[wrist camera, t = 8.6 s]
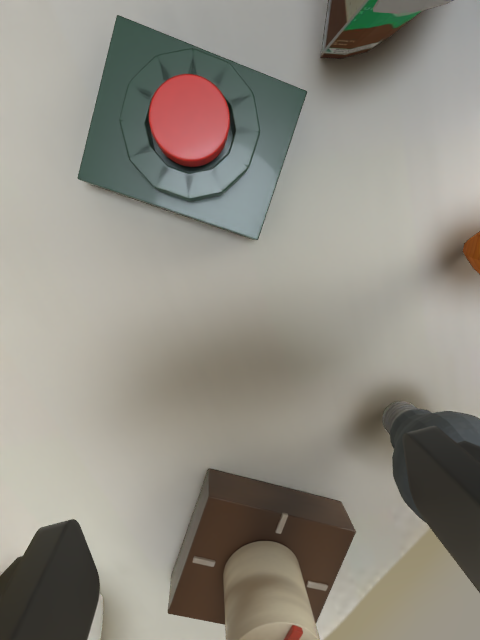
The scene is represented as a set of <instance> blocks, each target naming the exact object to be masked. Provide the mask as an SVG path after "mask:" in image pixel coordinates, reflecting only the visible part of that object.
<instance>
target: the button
mask: <svg viewBox="0 0 480 640" xmlns="http://www.w3.org/2000/svg"><path fill="white" fill-rule="evenodd" d="M149 124H150V129H151V132H152V134H153V137H154V139H155V140H156V142H157V144H158V146H159V147H160V149H161V150H162V152H163V153H164V154H165V155H166V156H167V157H168V158H169V159H170V160H172V161H173V162H175V163H177V164H179V165H182V166H187V167H198V166H202V165H205V164H208V163H209V162H211V161H213V160H214V159H215V158H216V157H217V156H218V155H219V154H220V153H221V151H222V150H223V148H224V146H225V143H226V141H227V137H228V132H229V127H230V113H229V108H228V105H227V102H226V100H225V98H224V96H223V94H222V93H221V91H220V90H219V89H218V88H217V87H216V86H215V85H214V84H213V83H212V82H211V81H209V80H207V79H206V78H204V77H201V76H198V75H194V74H181V75H177V76H174V77H172V78H170V79H168V80H166V81H165V82H164V83H163V84H161V85H160V87H159V88H158V89H157V90H156V92H155V93H154V95H153V97H152V100H151V103H150V107H149Z"/></svg>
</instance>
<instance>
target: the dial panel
mask: <svg viewBox="0 0 480 640" xmlns="http://www.w3.org/2000/svg"><path fill="white" fill-rule="evenodd" d="M355 533H356V531H355V529H354V527H353V525H352V522H351V520H350V518H349V516H348V514H347V512H346V510H345V508H344V506H343V504H342V502H340V501H337V500H333V499H329V498H325V497H321V496H317V495H313V494H309V493H305V492H301V491H297V490H293V489H289V488H285V487H281V486H277V485H273V484H269V483H265V482H261V481H257V480H253V479H249V478H245V477H241V476H237V475H233V474H229V473H225V472H221V471H217V470H212V469H208V472H207V475H206V477H205V480H204V483H203V486H202V489H201V492H200V495H199V498H198V501H197V503H196V506H195V509H194V512H193V515H192V518H191V521H190V524H189V526H188V529H187V532H186V535H185V538H184V541H183V544H182V547H181V550H180V552H179V555H178V558H177V561H176V564H175V567H174V570H173V573H172V576H171V585H170V595H169V604H168V614H173V615H179V616H184V617H189V618H194V619H199V620H204V621H209V622H215V623H220V624H225V606H224V585H223V573H224V568H225V565H226V563H227V561H228V560H229V558H230V557H231V556H232V554H233V553H235V552H236V551H237V550H238V549H240V548H241V547H243V546H245V545H247V544H249V543H253V542H257V541H272V542H276V543H280V544H282V545H284V546H286V547H287V548H288V549H290V550H291V551H292V552H293V553H294V555H295V556H296V558H297V560H298V563H299V566H300V570H301V573H302V577H303V580H304V584H305V588H306V591H307V595H308V599H309V602H310V606H311V609H312V613H313V617H314V620H315V624H316V622H317V620H318V617H319V615H320V613H321V611H322V608H323V606H324V604H325V601H326V599H327V597H328V595H329V592H330V590H331V588H332V585H333V583H334V581H335V579H336V576H337V574H338V572H339V569H340V567H341V565H342V562H343V560H344V558H345V556H346V553H347V551H348V549H349V546H350V544H351V542H352V540H353V537H354V535H355Z"/></svg>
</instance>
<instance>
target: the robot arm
mask: <svg viewBox="0 0 480 640" xmlns="http://www.w3.org/2000/svg"><path fill="white" fill-rule="evenodd" d="M402 443H403V449H404V456H405V462H406V469H407V475H408V481H409V488H410V492H411V495H412V498H413V501H414V503H415V506H416V508H417V510H418V511H419V513H420V515H421V516H422V518H423V519H424V520H425V522H426V523H427V524H428V526H429V527H430V528H431V529H432V531H433V532H434V533H435V535H436V536H437V537H438V539H439V540H440V541H441V542H442V544H443V545H444V547H445V548H446V549H447V550H448V552H449V553H450V554H451V556H452V557H453V558H454V560H455V561H456V562H457V564H458V565H459V566H460V567H461V569H462V570H463V571H464V573H465V574H466V575H467V577H468V578H469V579H470V581H471V582H472V583H473V584H474V586H475V587H476V588H477V590H478V591H479V592H480V446H477V445H475V444H472V443H470V442H467V441H462V442H458V443H456V442H455V441H454V440H453V439H451V438H450V437H449V436H448V435H447V434H445V433H444V432H443V431H442V430H441V429H440V428H438V427H437V426H430V427H427V428H423V429H419V430H415V431H411V432H408V433H404V434H403V437H402ZM99 593H100V583H99V576H98V572H97V569H96V566H95V563H94V561H93V558H92V556H91V553H90V550H89V548H88V545H87V543H86V540H85V537H84V535H83V532H82V530H81V527H80V525H79V523H78V522H77V521H76V520H74V519H72V520H68V521H64V522H60V523H57V524H53V525H49V526H45V527H41V528H40V529H39V530H38V531H37V532H36V534H35V536H34V537H33V539H32V541H31V543H30V545H29V546H28V548H27V550H26V552H25V553H24V555H23V556H22V557H18V558H17V559H16V560H15V561H14V562H13V563H12V564H11V565H10V566H9V567H8V568H7V569H6V570H5V571H4V573H3V574H2V575H1V576H0V640H87V639H88V636H89V632H90V629H91V625H92V622H93V618H94V615H95V611H96V608H97V605H98V601H99Z"/></svg>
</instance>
